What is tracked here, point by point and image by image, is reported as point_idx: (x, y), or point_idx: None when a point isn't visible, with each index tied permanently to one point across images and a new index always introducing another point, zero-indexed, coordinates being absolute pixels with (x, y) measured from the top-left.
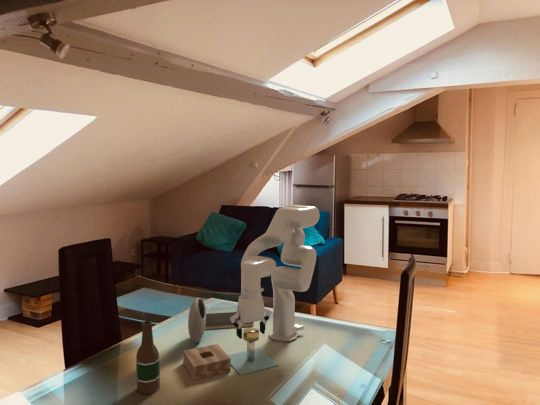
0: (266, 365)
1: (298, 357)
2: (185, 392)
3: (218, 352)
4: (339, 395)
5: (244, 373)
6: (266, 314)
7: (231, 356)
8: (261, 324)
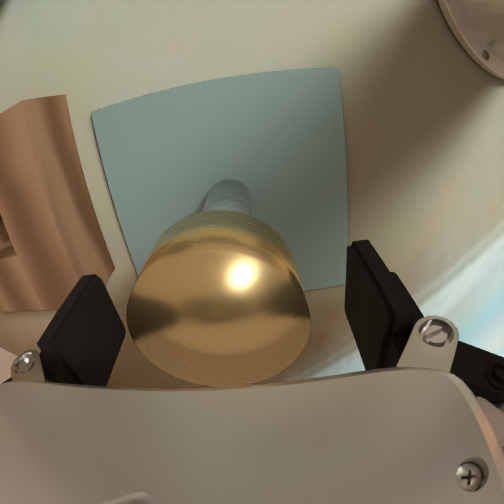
0: None
1: (457, 236)
2: (9, 331)
3: (28, 222)
4: None
5: None
6: (502, 419)
7: (128, 126)
8: (374, 351)
